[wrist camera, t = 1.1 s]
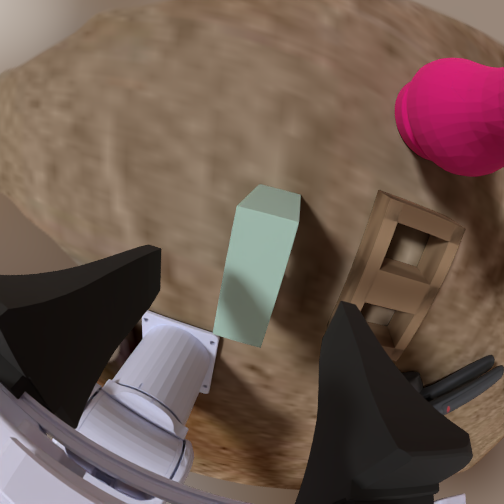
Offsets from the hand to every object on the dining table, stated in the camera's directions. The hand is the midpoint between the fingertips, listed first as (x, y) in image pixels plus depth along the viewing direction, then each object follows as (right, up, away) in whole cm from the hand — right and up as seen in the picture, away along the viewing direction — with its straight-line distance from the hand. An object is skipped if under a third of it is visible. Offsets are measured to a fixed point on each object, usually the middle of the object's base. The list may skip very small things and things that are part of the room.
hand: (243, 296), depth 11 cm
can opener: (+21, -12, +13) cm, 28 cm away
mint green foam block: (+1, +3, +10) cm, 11 cm away
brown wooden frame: (+11, 0, +10) cm, 15 cm away
